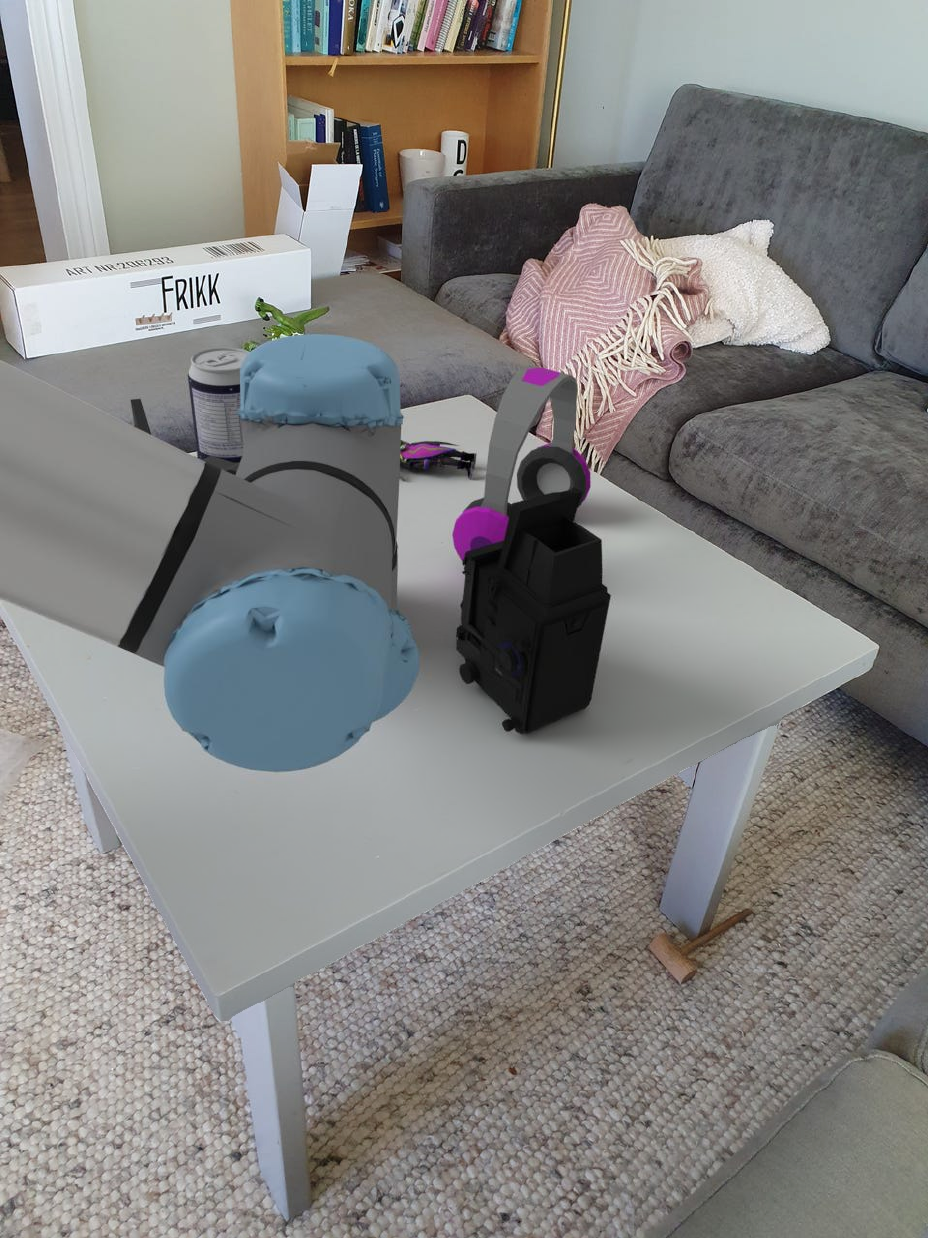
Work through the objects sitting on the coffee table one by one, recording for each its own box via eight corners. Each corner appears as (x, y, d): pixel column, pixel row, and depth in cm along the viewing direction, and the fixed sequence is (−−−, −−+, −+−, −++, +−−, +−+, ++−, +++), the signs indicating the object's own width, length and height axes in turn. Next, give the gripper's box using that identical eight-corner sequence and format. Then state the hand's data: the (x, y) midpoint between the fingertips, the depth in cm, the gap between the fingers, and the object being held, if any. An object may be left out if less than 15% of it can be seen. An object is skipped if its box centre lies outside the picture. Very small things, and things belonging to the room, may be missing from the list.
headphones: (516, 596, 96) (538, 417, 84) (443, 570, 99) (454, 394, 87) (590, 514, 111) (617, 353, 99) (525, 494, 114) (543, 336, 102)
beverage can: (283, 495, 79) (275, 359, 72) (229, 517, 75) (215, 377, 68) (242, 472, 82) (230, 340, 75) (188, 492, 78) (170, 356, 71)
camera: (514, 629, 91) (535, 443, 79) (603, 708, 82) (642, 512, 70) (429, 660, 86) (438, 467, 74) (513, 747, 77) (540, 544, 66)
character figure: (477, 460, 122) (360, 441, 123) (480, 434, 119) (361, 415, 120) (467, 493, 114) (342, 472, 115) (471, 465, 112) (343, 445, 113)
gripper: (90, 620, 56) (69, 467, 72) (465, 558, 65) (373, 433, 80) (66, 513, 52) (50, 375, 67) (472, 461, 60) (374, 349, 76)
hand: (225, 406), depth 74 cm, fingers open, 13 cm apart
